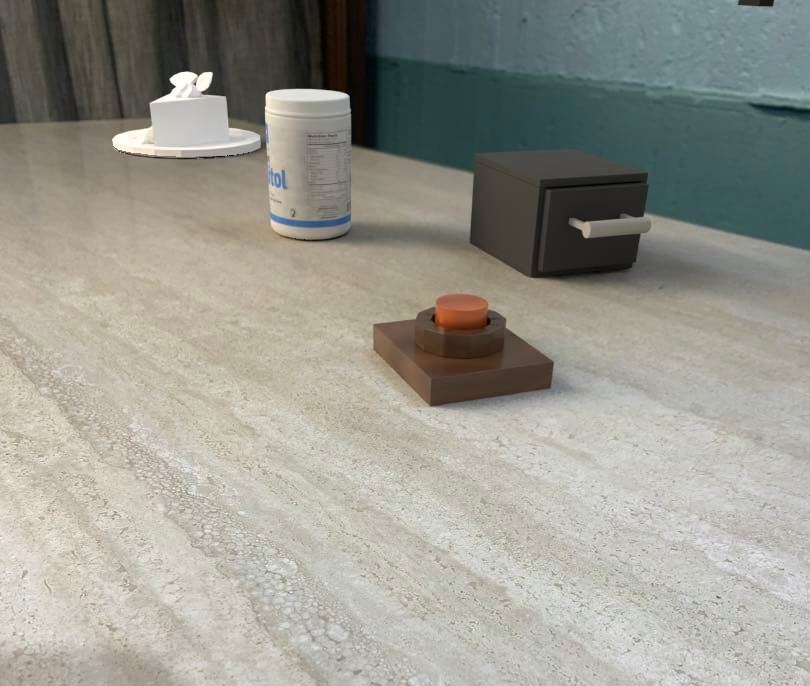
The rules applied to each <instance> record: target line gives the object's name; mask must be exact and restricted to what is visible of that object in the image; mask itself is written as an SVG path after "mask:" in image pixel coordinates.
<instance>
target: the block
mask: <svg viewBox="0 0 810 686" xmlns="http://www.w3.org/2000/svg"><path fill="white" fill-rule="evenodd" d="M435 307H436V306H431V307H428V308H427V309H424V310H422V311H419V312H418V313H417V315H416V317H415V318H414V319H413V318H412V319H404V320H396V321H388V322H387V321H386V322H378V323H373V324H372V347H373V348H372V349H373V350H374V352H375V353H376V354H377V355H378V356H379V357H380V358H381V359H383V361H384V362H385V363H386V364H387V365H388V366H389V367H390V368H391V369H392V370H393V371H394V372H395V373H396V374H397V375H398V376H399V377H400V378H401V379H402V380H403V381H404V382H405V383H406V384H407V385H408V386H409V387H410V389H412V390H413V391H414V392H415V393H416V394H417V395H418V396H419V397H420V398H421V400H423V401H424V402H425V403H426V404H427V405H428V406H429V407H430V408H431V407H437V406H445V405H451V404H458V403H465V402H470V401H471V402H472V401H478V400H484V399H490V398H496V397H502V396H509V395H516V394H523V393H531V392H536V391H542V390H543V391H544V390H548V389H549V390H550V389H552V381H553V375H554V374H553V373H554V367H555V361H554V360H552V359H551V358H550V357H548V356H547V355H545V354H544V353H543V352H541V351H540V350H538V349H537V348H536V347H534V346H533V345H532V344H530V343H529V342H527V341H526V340H524V338H521V337H520V336H518V335H517V334H516V333H514V332H513V331H512V330H510V329H509V328H507V327H506V326H507V318H506V317H504V316H503V315H502V314H500V313H499V312H497V311H495V310H492V309H488V314H487V326H485V327H483V328H480V329H472V330H455V329H448V328H444V327H441V326H437V325H436V324H435Z"/></svg>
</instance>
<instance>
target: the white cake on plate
mask: <svg viewBox="0 0 810 686" xmlns="http://www.w3.org/2000/svg"><path fill="white" fill-rule="evenodd" d="M213 76H214V74H213V72H212V71H207V72H202V73H201V74H200V75H198V74H196V73H194V72H191V71H183V72H182V71H181V72H178V73H175V74H174V75H172V76H171V77H170V78H169V82H170V83H171V84H172V85H173V86H175V87H174V88H173V89H171V92H170V93H168V94H166V95H164V96H162V97H159V98H157V99H155V100H153V101H151V102H149V111H150V119H151V126H150V127H148V128H146V127H145V128H142V129H135V130H128V131H125V132H121V133H118V134H116V135H115V136H114V137H113V138H112V147H113V146H114V147H115V148H117V149H118V150H122V151H126V152H131V153H141V154H148V155H157V156H176V157H196V156H198V157H199V156H201V157H202V156H225V157H230V156H229V155H234V156H238V155H237V154H239V155H244V154H249V153H252V152H254V151H257V150H259V149H261V147H262V146H261V145H262V142H261V141H262V139H261V135H260V134H258V133H256V132H254V131H251V130H246V129H240V128H234V127H230V126H229V114H228V102H227V96H225V95H224V96H223V95H212V94H203V93H202V92H205V91H206V90H207V89H209V88H210V85H211V84H212V80H213ZM195 84H196V85H195ZM114 147H113V148H114ZM115 148H114V149H115ZM248 152H249V153H248ZM243 153H244V154H243ZM227 155H228V156H227Z"/></svg>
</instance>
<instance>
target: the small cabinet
mask: <svg viewBox="0 0 810 686" xmlns="http://www.w3.org/2000/svg"><path fill="white" fill-rule="evenodd" d="M473 162H474V163H473V178H472V180H473V181H472V195H471V210H470V212H471V213H470V226H469V227H470V230H469V243H470V244H472V245H473V246H475V247H477V248H478V249H480V250H482V251H483V252H485V253H487V254H489V255H490V256H492V257H494V258H496V259H497V260H499V261H501V262H502V263H504V264H506V265H507V266H509V267H511V268H513V269H514V270H516V271H518V272H520V273H521V274H522V275H524V276H526V277H528V278H531V279H532V278H542V277H550V276H551V277H552V276H563V275H574V274H584V273H591V272H592V273H593V272H600V271H602V272H603V271H610V270H620V269H630V268H634V263H626V264H617V265H607V266H597V267H587V268H578V269H568V270H558V271H548V272H541V271H539V270H538V269H537V260H538V250H539V241H540V231H541V222H542V212H543V202H544V193H545V189H546V188H547V187H562V186H577V185H592V184H607V183H622V182H628V183H645V184H648V177H649V172H648V171H645V170H641V169H638V168H635V167H632V166H629V165H626V164H623V163H619V162H617V161H613V160H610V159H607V158H604V157H601V156H598V155H595V154H592V153H588V152H586V151H582V150H579V149H577V148H573V147H572V148H555V149H535V150H517V151H515V150H514V151H497V152H494V151H493V152H476V153H474V161H473Z"/></svg>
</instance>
